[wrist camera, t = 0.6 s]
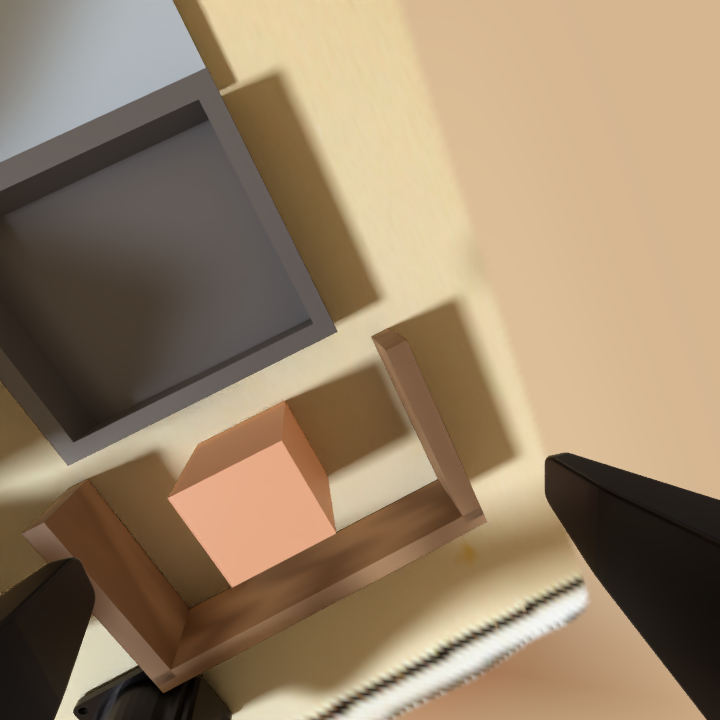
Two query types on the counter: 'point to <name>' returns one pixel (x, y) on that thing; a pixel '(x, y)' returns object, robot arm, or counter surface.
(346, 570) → the cubby
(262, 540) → the cube
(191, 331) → the box
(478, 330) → the counter surface
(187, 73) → the pad
